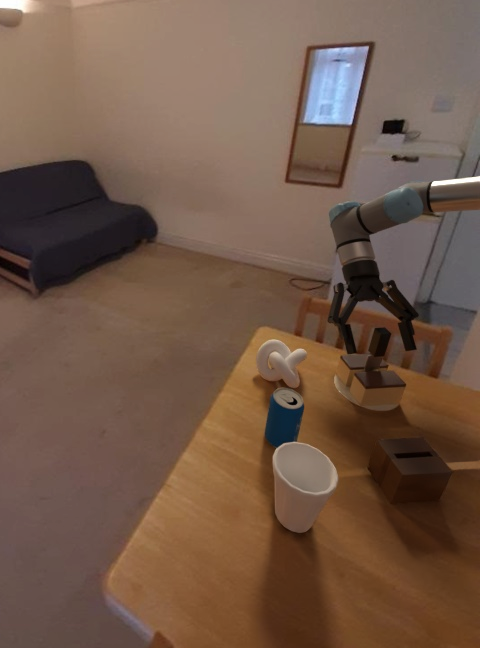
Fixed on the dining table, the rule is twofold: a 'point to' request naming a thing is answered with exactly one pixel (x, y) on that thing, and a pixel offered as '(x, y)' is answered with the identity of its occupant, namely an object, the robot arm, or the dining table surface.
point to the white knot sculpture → (279, 362)
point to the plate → (347, 395)
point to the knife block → (408, 470)
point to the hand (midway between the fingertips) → (381, 352)
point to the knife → (377, 349)
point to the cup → (301, 484)
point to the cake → (370, 381)
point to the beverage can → (284, 417)
